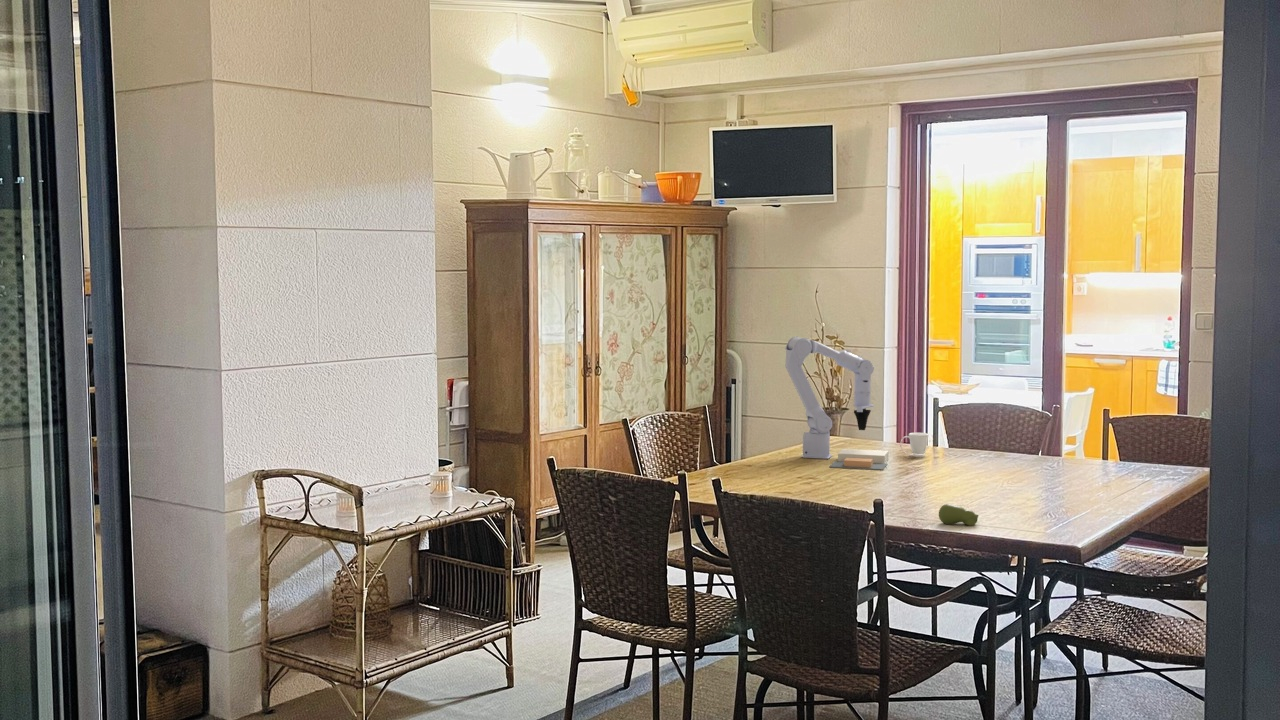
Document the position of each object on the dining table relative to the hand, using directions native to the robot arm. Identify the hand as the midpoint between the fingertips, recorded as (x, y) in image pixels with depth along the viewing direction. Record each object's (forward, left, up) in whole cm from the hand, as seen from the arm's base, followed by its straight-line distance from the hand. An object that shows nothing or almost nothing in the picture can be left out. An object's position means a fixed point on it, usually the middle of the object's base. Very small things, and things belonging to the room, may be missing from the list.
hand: (862, 429), depth 420 cm
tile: (+2, -25, -7) cm, 26 cm away
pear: (+40, -110, -10) cm, 117 cm away
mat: (+2, -24, -9) cm, 25 cm away
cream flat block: (+2, -11, -9) cm, 15 cm away
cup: (+18, +6, -10) cm, 21 cm away
